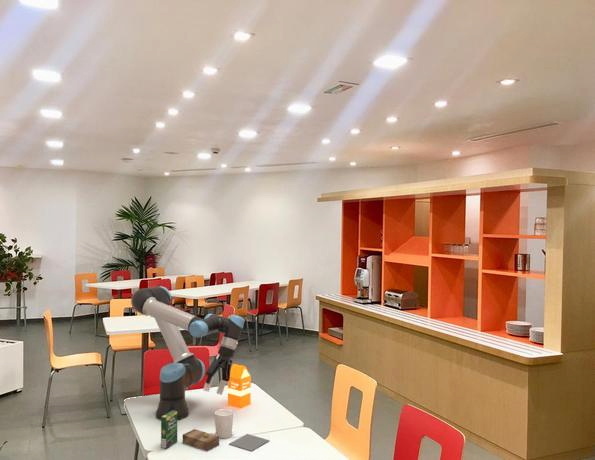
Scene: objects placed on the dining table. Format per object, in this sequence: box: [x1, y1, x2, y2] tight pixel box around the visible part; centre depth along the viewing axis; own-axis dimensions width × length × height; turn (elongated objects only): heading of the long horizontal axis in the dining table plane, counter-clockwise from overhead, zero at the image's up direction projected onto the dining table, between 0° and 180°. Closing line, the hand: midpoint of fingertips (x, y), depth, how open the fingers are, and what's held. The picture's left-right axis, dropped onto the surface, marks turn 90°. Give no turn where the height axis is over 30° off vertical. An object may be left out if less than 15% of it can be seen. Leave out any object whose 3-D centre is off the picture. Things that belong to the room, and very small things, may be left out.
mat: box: [228, 433, 270, 453], centre depth 210 cm, size 12×12×1 cm
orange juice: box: [227, 363, 252, 409], centre depth 256 cm, size 8×9×20 cm
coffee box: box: [160, 410, 178, 450], centre depth 208 cm, size 8×3×13 cm, turn 159°
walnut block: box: [182, 428, 220, 452], centre depth 209 cm, size 14×7×5 cm, turn 57°
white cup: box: [214, 408, 234, 439], centre depth 218 cm, size 8×8×10 cm
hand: (212, 392), depth 233 cm, fingers open, 13 cm apart
